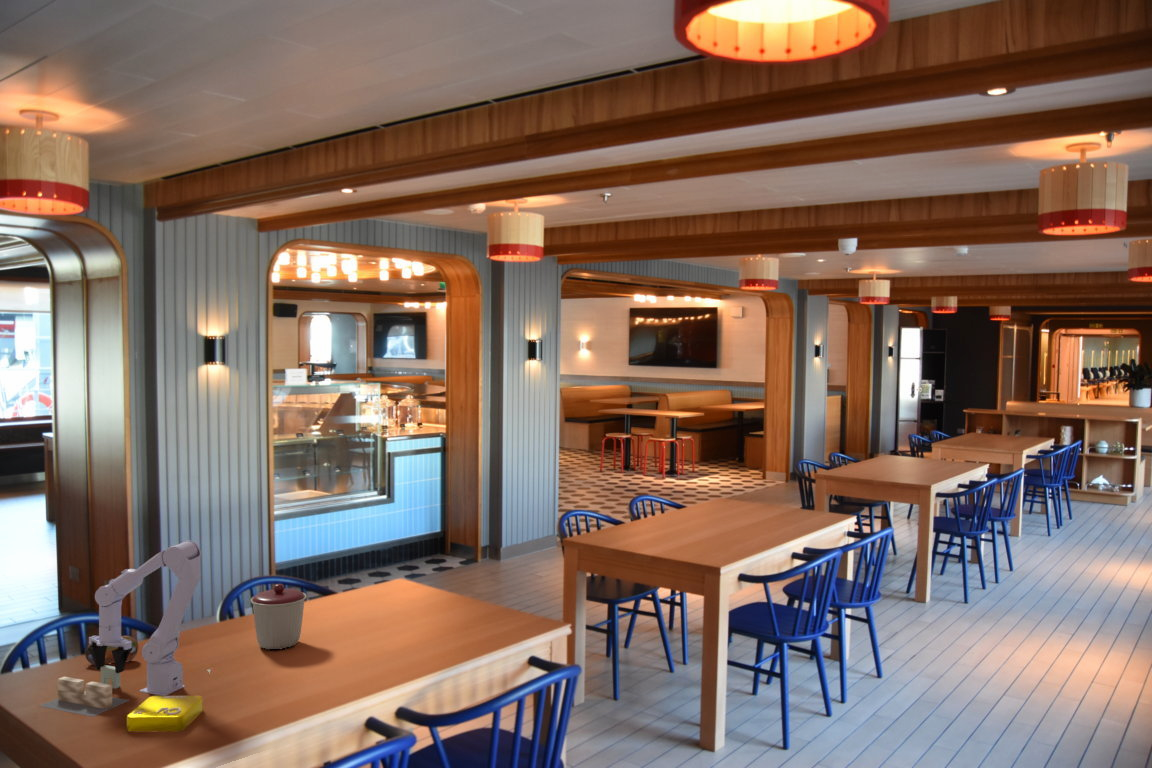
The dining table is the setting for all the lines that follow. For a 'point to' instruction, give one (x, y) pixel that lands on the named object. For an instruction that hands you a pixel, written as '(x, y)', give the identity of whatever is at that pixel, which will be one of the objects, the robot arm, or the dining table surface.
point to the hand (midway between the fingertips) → (109, 670)
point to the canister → (278, 616)
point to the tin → (108, 655)
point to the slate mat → (81, 707)
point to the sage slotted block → (110, 676)
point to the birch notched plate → (85, 692)
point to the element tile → (164, 713)
